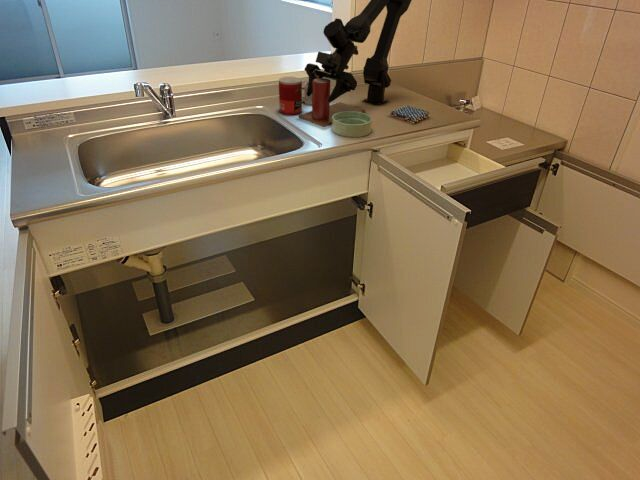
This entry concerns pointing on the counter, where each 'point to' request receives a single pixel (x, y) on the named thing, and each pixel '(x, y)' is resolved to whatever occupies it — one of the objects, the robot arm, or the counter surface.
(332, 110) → the cutting board
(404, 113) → the woven mat
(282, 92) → the canned food
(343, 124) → the bowl
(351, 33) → the robot arm
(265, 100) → the counter surface
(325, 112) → the drink can
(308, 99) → the mug
